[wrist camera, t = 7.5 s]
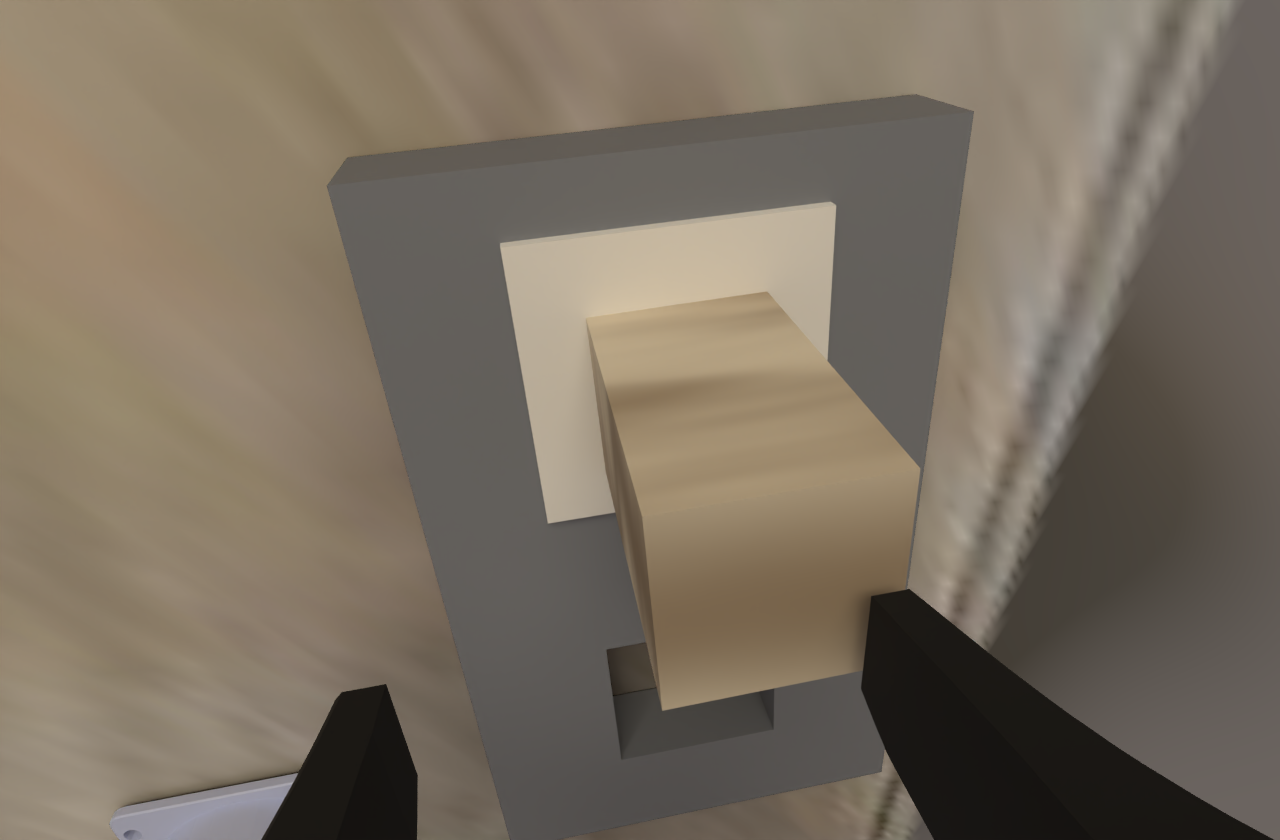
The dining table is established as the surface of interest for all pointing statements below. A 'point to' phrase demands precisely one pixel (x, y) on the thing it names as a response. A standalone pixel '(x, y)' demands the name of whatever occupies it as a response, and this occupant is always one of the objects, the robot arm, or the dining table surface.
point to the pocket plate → (568, 415)
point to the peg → (746, 496)
